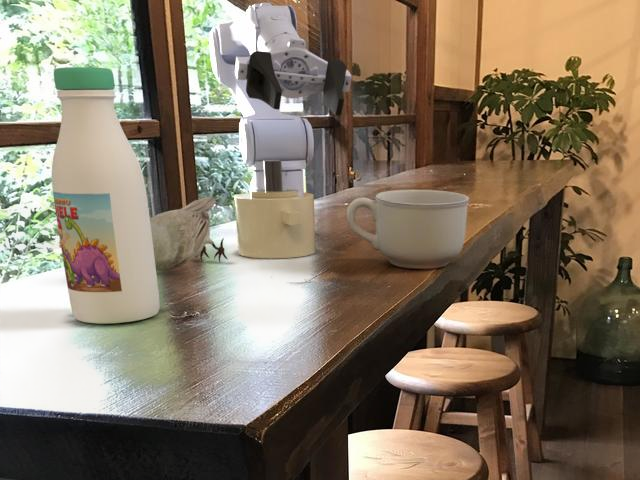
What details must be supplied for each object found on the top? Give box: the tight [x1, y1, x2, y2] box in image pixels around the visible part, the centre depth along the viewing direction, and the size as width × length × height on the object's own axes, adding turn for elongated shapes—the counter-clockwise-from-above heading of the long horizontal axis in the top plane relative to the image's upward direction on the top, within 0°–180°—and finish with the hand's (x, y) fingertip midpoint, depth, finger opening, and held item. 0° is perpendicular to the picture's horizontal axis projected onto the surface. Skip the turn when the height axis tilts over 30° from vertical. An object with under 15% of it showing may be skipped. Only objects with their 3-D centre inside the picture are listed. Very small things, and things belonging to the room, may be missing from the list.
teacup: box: [346, 189, 470, 270], centre depth 94 cm, size 14×11×8 cm
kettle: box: [234, 160, 317, 260], centre depth 103 cm, size 16×10×11 cm, turn 23°
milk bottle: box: [51, 66, 161, 324], centre depth 69 cm, size 8×8×20 cm
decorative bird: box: [150, 196, 228, 272], centre depth 91 cm, size 5×16×8 cm, turn 152°
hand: (309, 104), depth 96 cm, fingers open, 7 cm apart
